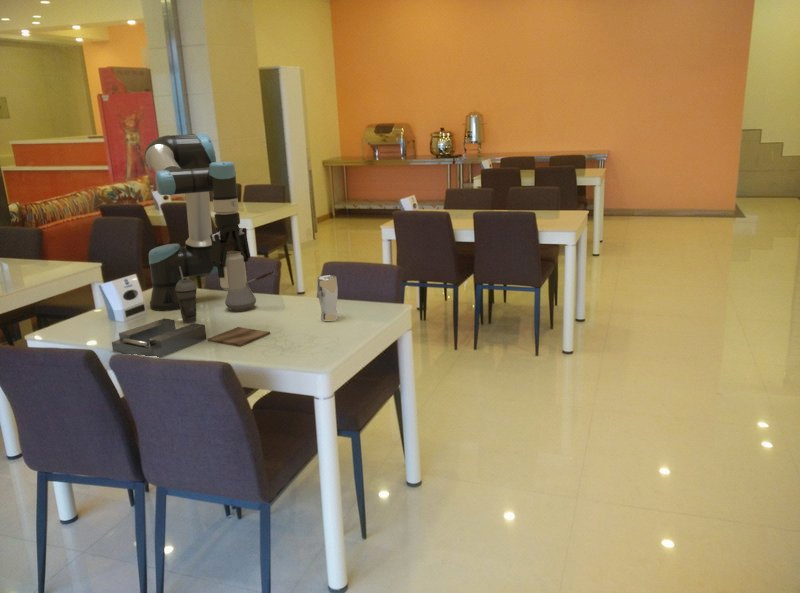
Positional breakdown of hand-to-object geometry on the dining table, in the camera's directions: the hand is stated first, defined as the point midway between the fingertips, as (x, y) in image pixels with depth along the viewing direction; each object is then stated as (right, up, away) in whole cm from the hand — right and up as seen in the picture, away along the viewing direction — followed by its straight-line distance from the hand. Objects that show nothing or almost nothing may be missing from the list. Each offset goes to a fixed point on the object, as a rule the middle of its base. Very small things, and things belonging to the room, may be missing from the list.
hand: (233, 284), depth 220 cm
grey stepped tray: (-23, -19, 0) cm, 30 cm away
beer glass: (+28, -12, +21) cm, 37 cm away
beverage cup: (-22, -13, +25) cm, 36 cm away
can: (0, -2, 0) cm, 2 cm away
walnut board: (+1, -17, +4) cm, 18 cm away
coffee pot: (-2, -9, +39) cm, 40 cm away
